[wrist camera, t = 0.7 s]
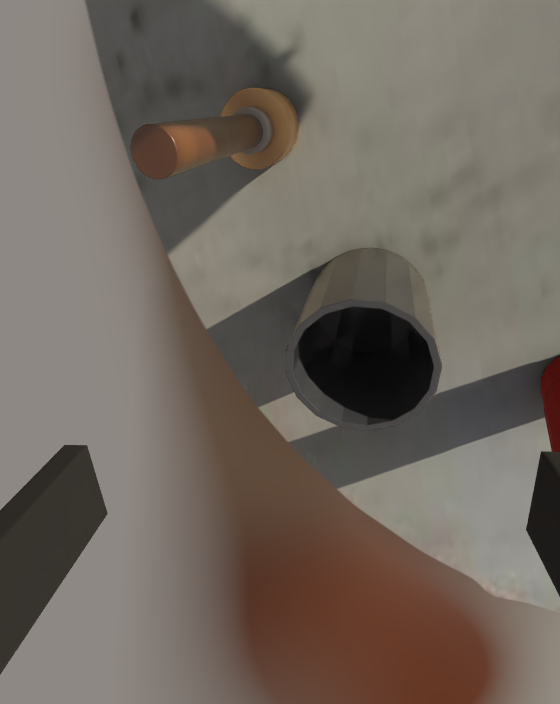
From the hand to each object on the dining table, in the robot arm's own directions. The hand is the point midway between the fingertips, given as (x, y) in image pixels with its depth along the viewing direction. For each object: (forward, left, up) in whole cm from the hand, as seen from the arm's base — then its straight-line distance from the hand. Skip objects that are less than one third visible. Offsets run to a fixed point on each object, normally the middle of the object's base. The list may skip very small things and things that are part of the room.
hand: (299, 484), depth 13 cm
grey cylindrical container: (+1, +6, -27) cm, 27 cm away
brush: (+4, -10, -27) cm, 29 cm away
